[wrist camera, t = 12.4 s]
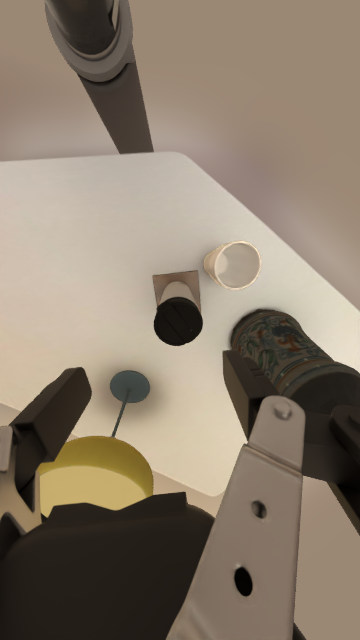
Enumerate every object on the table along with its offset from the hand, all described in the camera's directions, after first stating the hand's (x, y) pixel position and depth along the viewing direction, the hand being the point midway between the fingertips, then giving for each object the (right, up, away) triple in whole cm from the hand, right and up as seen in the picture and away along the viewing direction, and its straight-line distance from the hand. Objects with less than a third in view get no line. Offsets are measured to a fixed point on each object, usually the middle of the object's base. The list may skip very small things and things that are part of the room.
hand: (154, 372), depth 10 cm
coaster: (+1, +9, +31) cm, 32 cm away
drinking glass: (+9, +15, +29) cm, 34 cm away
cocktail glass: (-12, -16, +39) cm, 44 cm away
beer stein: (+22, -3, +36) cm, 42 cm away
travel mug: (+1, +9, +30) cm, 32 cm away
